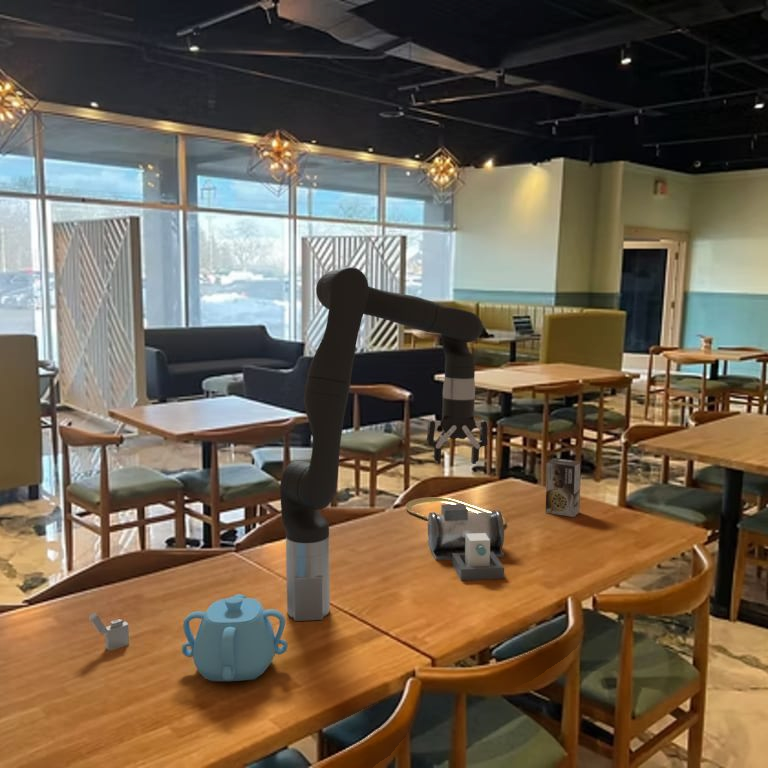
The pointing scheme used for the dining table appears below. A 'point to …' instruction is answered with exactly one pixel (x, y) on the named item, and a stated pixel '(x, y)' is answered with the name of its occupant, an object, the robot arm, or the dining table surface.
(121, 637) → the lighter
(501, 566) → the tray
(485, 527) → the motor
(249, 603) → the decorative pot
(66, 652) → the dining table surface
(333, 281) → the robot arm
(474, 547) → the white box with button
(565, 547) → the dining table surface
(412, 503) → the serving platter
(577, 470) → the coffee box
